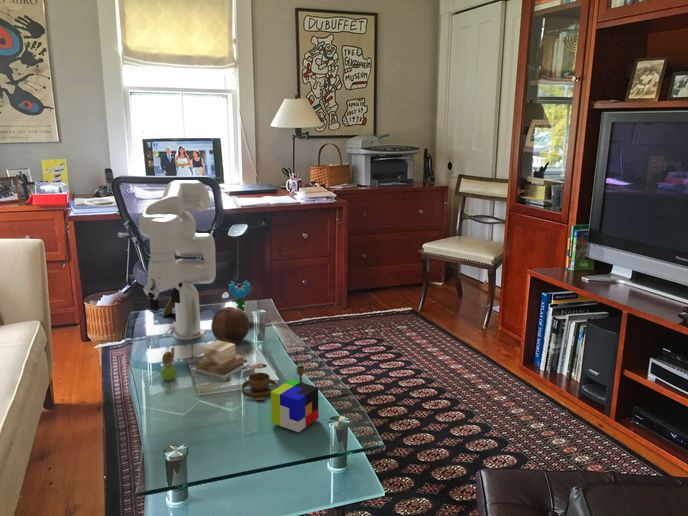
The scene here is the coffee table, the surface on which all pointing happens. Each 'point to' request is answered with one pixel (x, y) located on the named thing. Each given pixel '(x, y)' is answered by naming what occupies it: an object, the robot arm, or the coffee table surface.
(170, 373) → the snail figurine
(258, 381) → the place setting
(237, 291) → the toy flower
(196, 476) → the coffee table surface
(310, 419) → the puzzle toy
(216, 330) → the wooden sphere
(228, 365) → the plinth
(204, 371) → the blueprint board
